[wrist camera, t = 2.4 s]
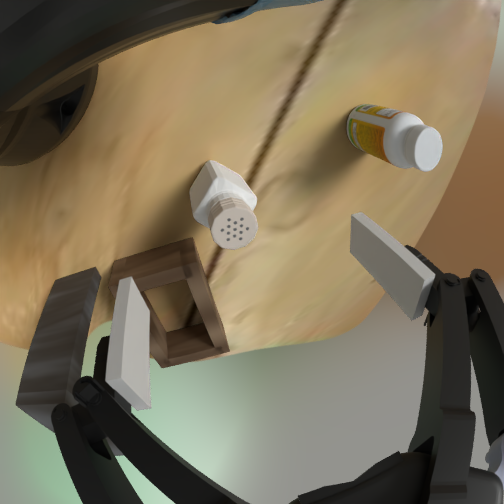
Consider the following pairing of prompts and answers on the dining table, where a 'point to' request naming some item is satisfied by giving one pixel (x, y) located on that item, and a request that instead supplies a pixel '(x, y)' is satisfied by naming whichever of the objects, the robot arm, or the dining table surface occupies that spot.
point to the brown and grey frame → (79, 316)
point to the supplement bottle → (394, 137)
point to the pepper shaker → (224, 205)
